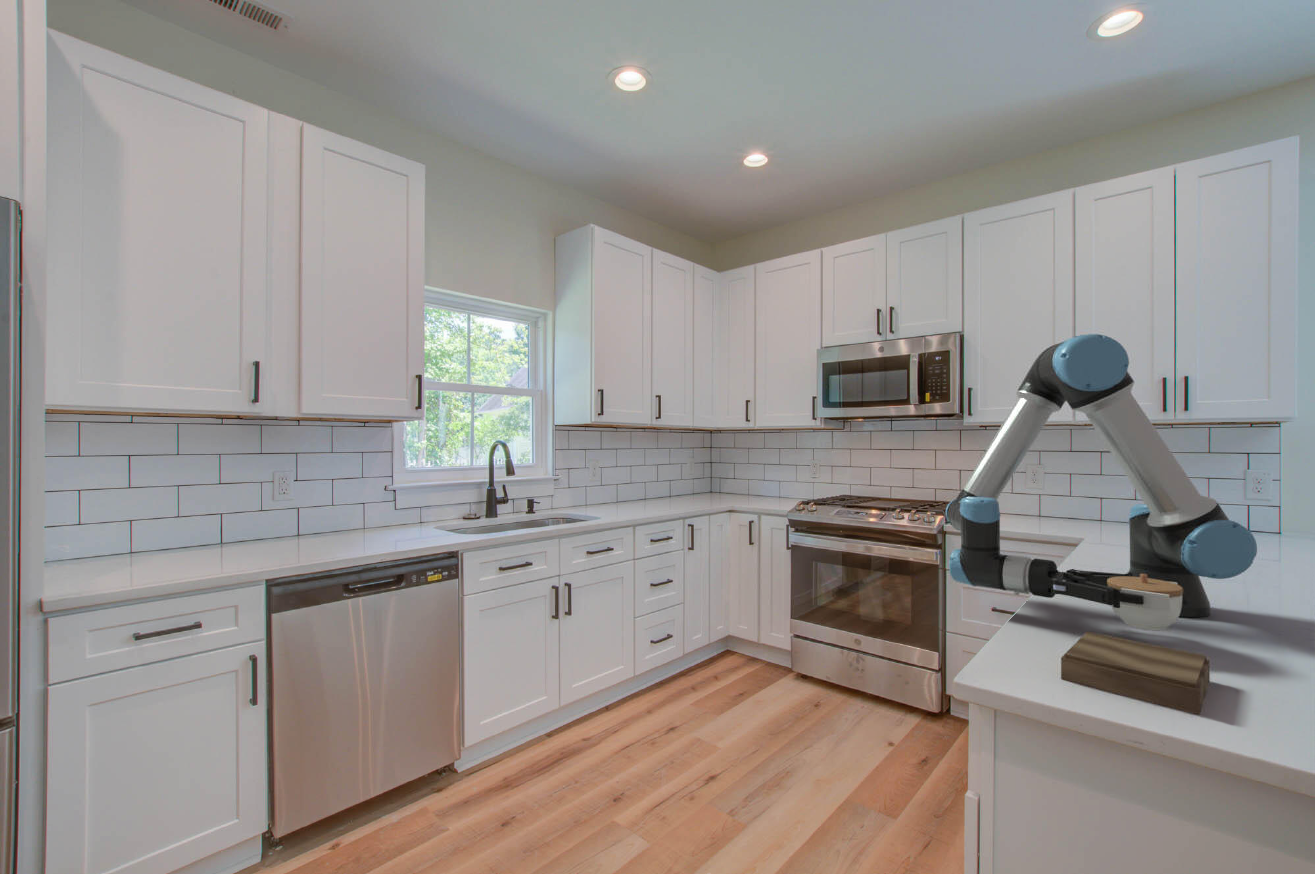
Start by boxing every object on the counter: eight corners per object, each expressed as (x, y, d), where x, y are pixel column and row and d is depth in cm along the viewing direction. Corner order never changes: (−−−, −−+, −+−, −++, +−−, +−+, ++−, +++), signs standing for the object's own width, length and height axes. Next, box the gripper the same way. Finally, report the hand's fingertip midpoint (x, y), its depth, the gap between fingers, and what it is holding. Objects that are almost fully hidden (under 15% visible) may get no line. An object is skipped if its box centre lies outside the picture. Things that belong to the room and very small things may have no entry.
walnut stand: (1084, 652, 102) (1084, 630, 102) (1209, 680, 90) (1209, 655, 90) (1061, 678, 91) (1061, 653, 91) (1199, 714, 80) (1199, 685, 80)
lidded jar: (1199, 636, 100) (1198, 582, 100) (1128, 633, 102) (1127, 580, 102) (1159, 617, 111) (1158, 568, 111) (1095, 614, 113) (1095, 566, 113)
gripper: (1047, 583, 128) (1181, 603, 111) (1014, 606, 112) (1164, 633, 96) (1046, 550, 128) (1181, 564, 111) (1013, 567, 112) (1163, 587, 96)
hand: (1173, 596), depth 104 cm, fingers closed on lidded jar, 11 cm apart
